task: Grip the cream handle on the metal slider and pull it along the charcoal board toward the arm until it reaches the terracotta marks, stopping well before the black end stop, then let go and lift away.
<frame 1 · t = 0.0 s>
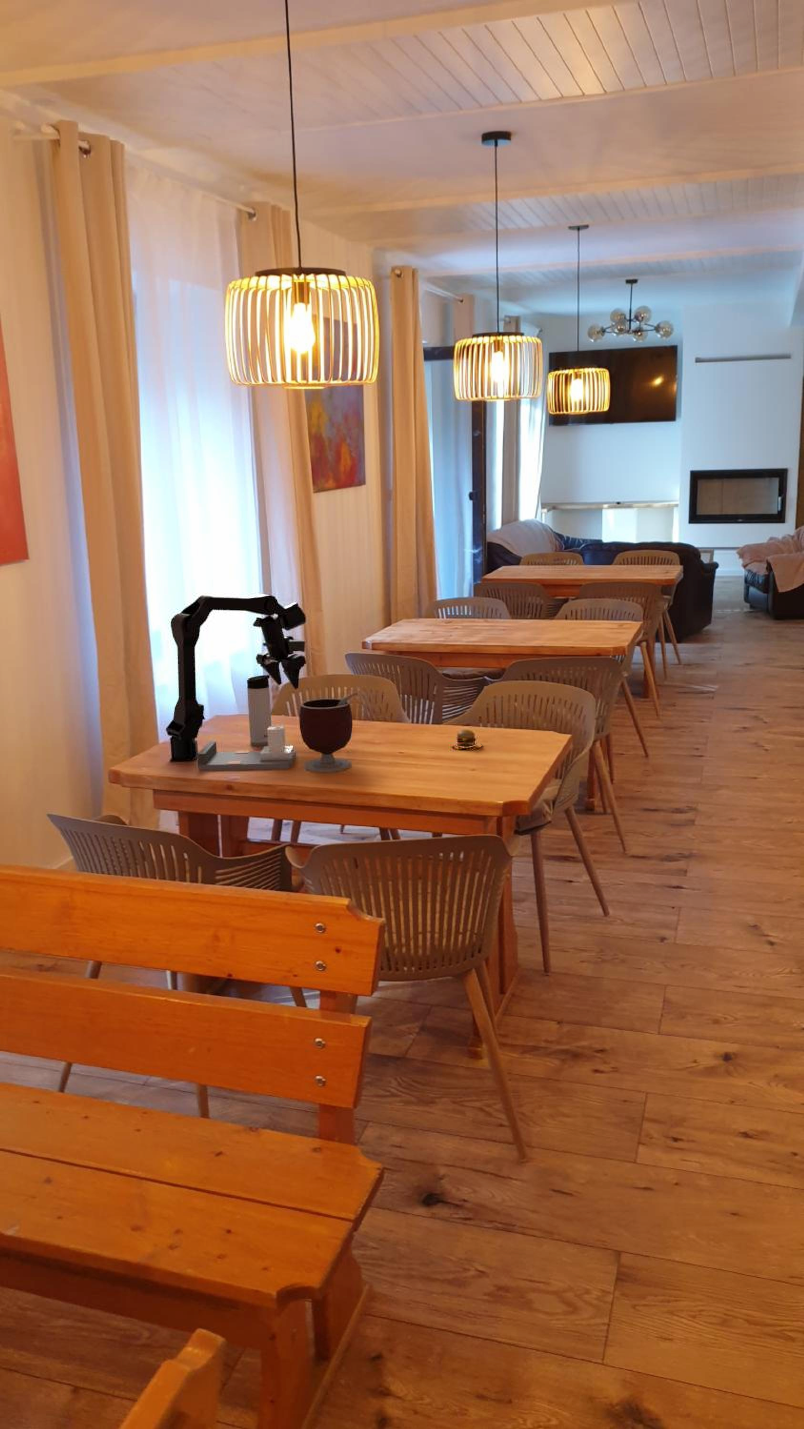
hand: (288, 686, 331), 15 cm above the table, tool pointing down, fingers open, 9 cm apart
hamburger: (466, 749, 318), on the table
slide board: (248, 763, 307), on the table
mate gourd: (331, 767, 301), on the table
slider: (276, 742, 306), point 6 cm above the table, slide at 0.0 cm
travel mug: (262, 744, 329), on the table
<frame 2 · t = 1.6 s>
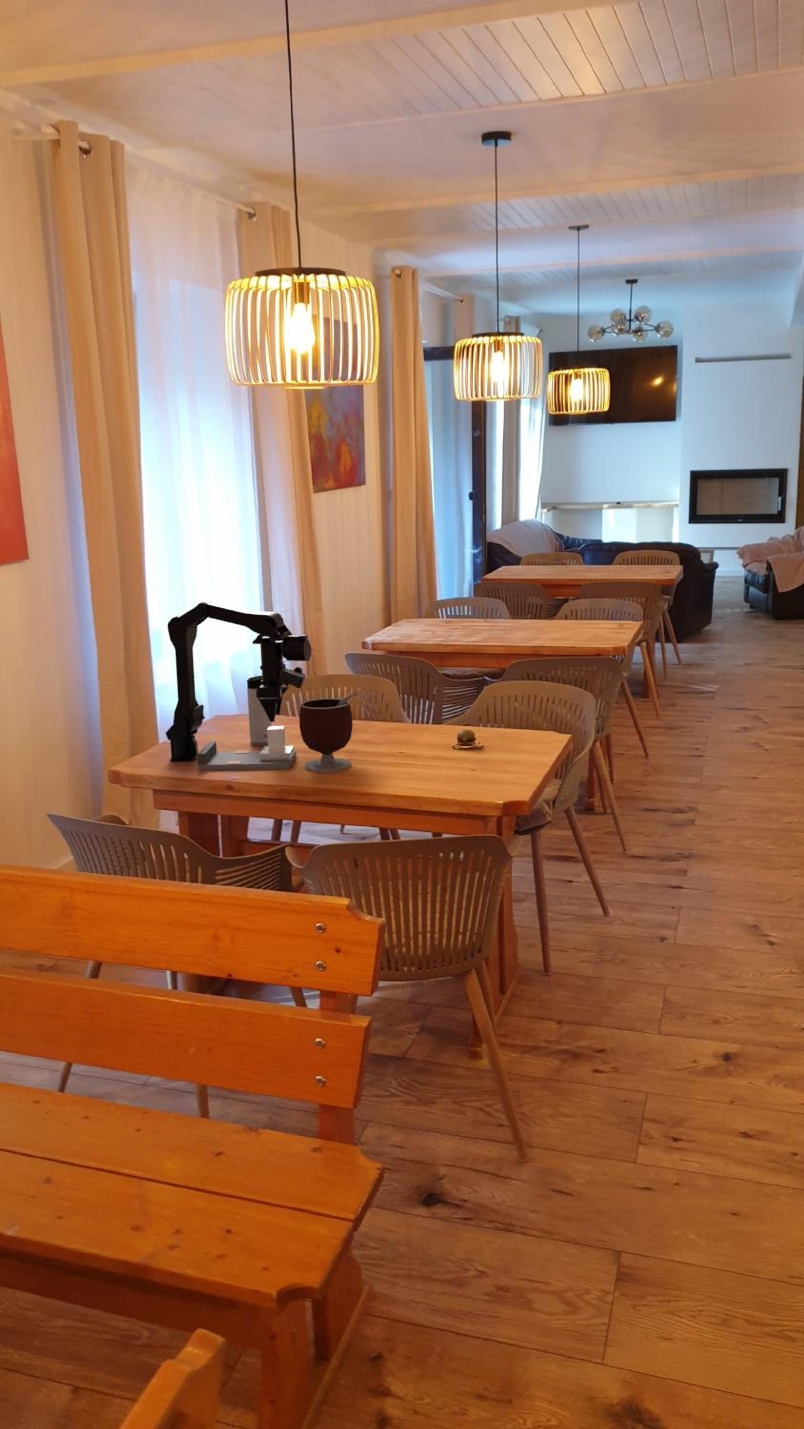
hand: (275, 718, 304), 12 cm above the table, tool pointing down, fingers open, 9 cm apart
nothing on the table moved.
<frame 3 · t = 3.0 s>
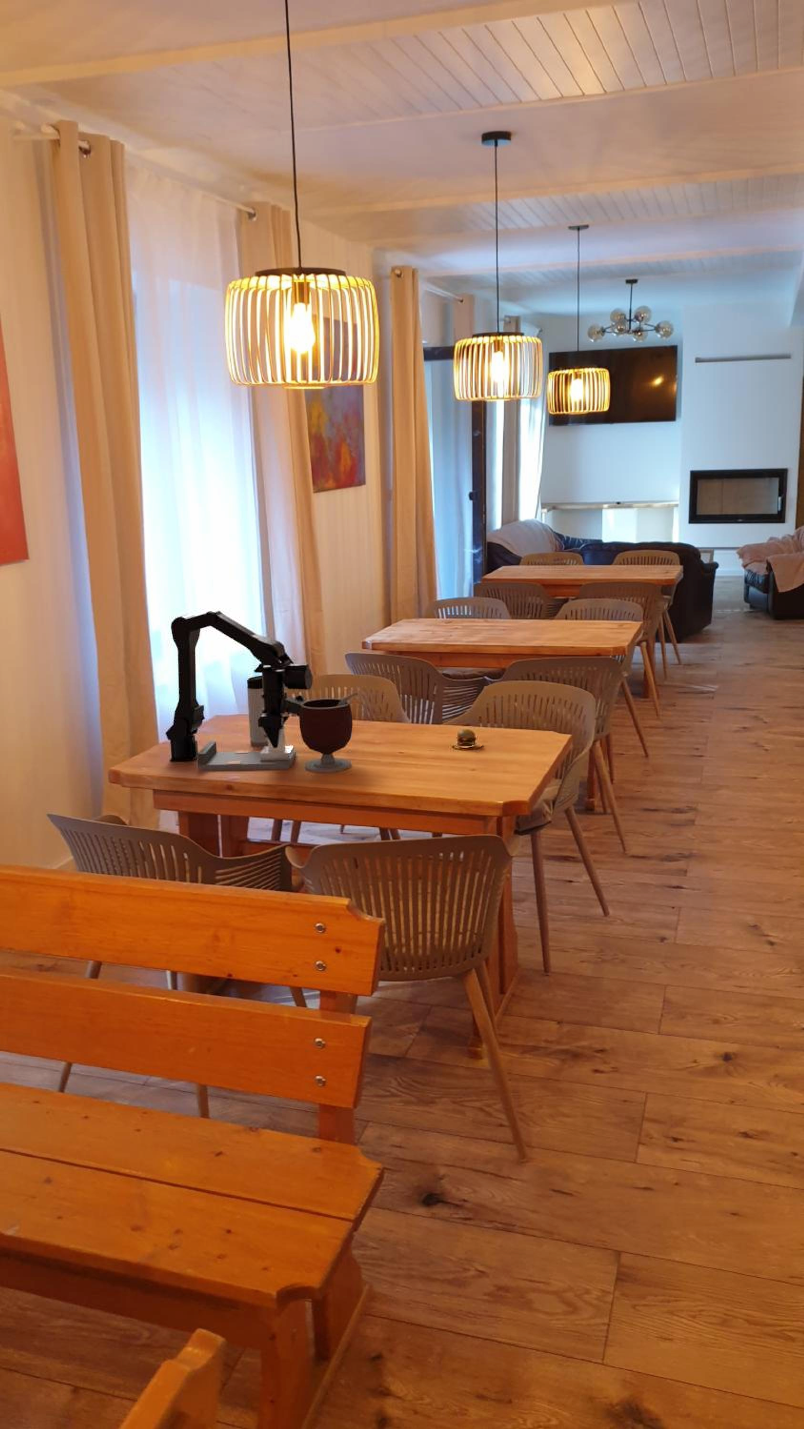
hand: (276, 745, 306), 5 cm above the table, tool pointing down, fingers closed on slider, 4 cm apart
slider: (276, 742, 306), point 6 cm above the table, slide at 0.0 cm, touching gripper
everything else where it was.
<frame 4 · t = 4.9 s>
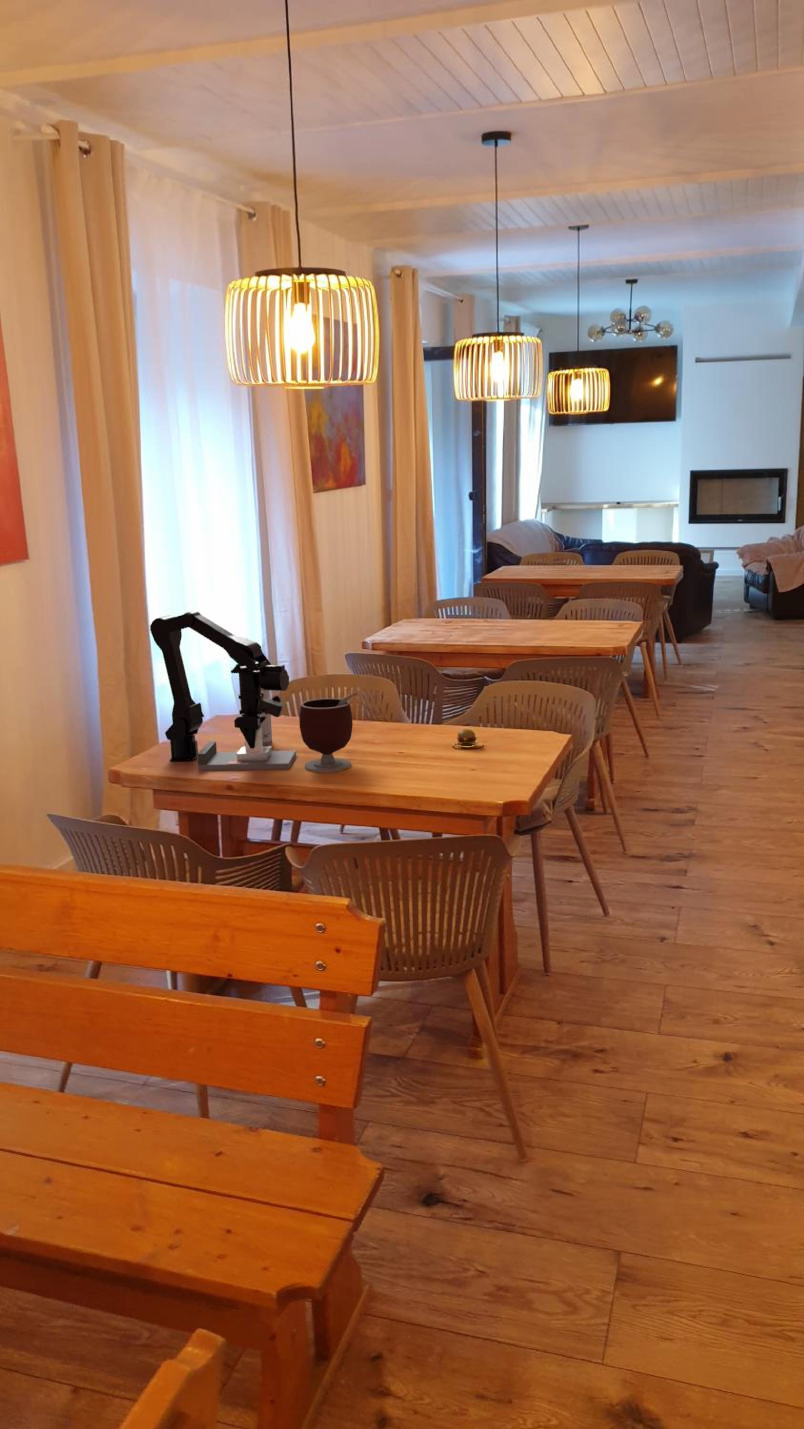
hand: (253, 746, 306), 5 cm above the table, tool pointing down, fingers closed on slider, 4 cm apart
slider: (253, 742, 306), point 6 cm above the table, slide at 6.2 cm, touching gripper
everything else where it was.
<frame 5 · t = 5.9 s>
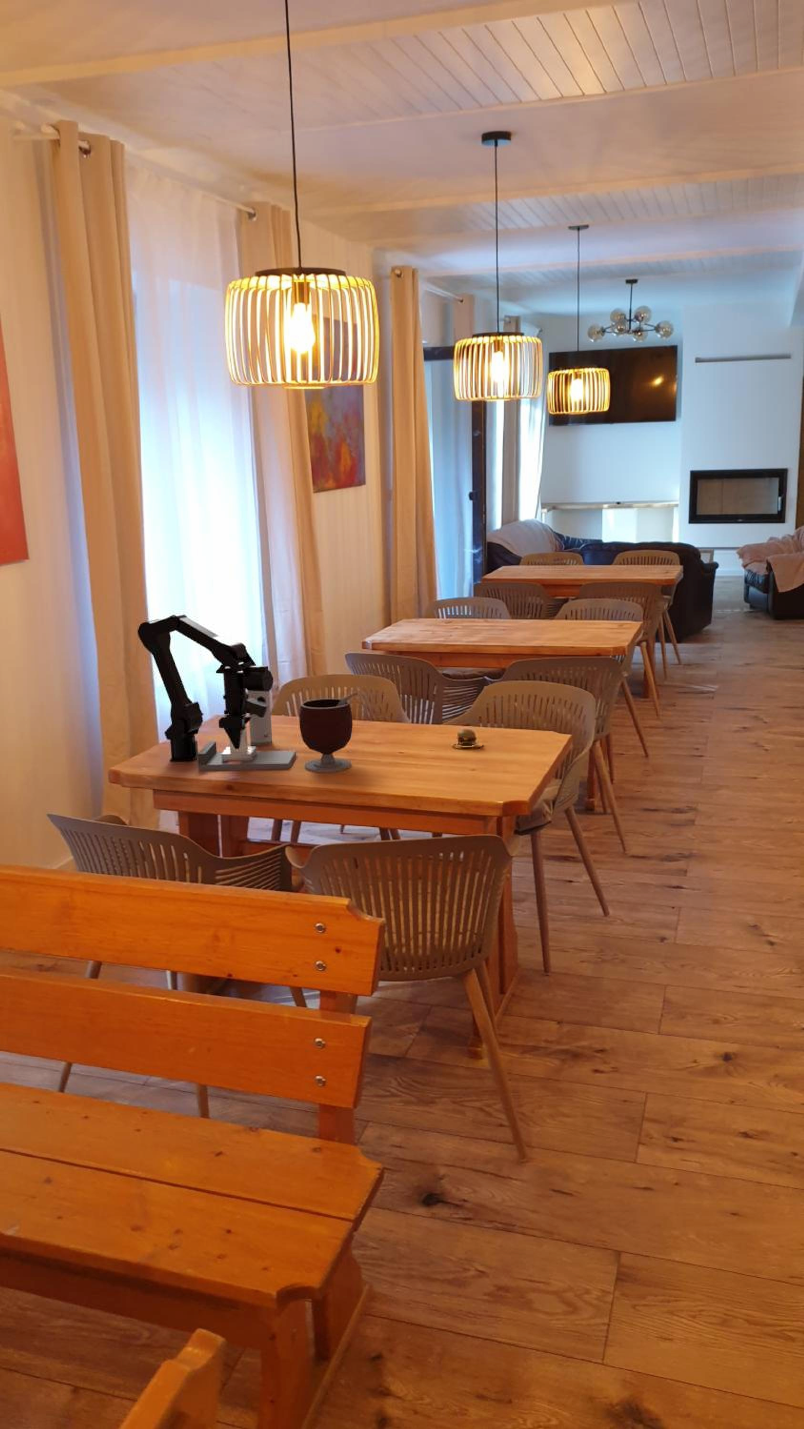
hand: (238, 746, 306), 5 cm above the table, tool pointing down, fingers closed on slider, 4 cm apart
slider: (238, 743, 306), point 6 cm above the table, slide at 10.3 cm, touching gripper
everything else where it was.
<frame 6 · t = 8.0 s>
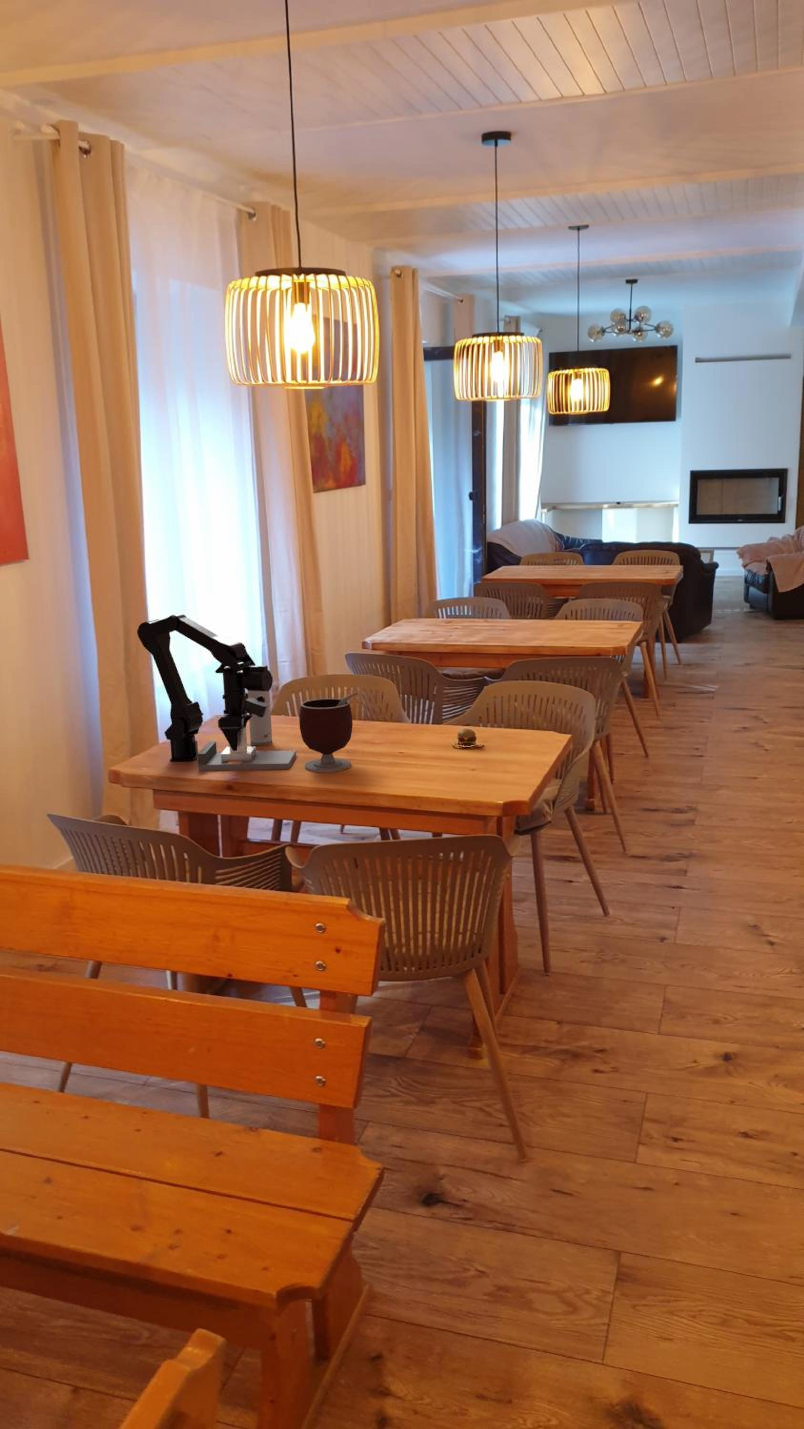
hand: (238, 746, 306), 5 cm above the table, tool pointing down, fingers open, 9 cm apart
slider: (238, 743, 306), point 6 cm above the table, slide at 10.4 cm
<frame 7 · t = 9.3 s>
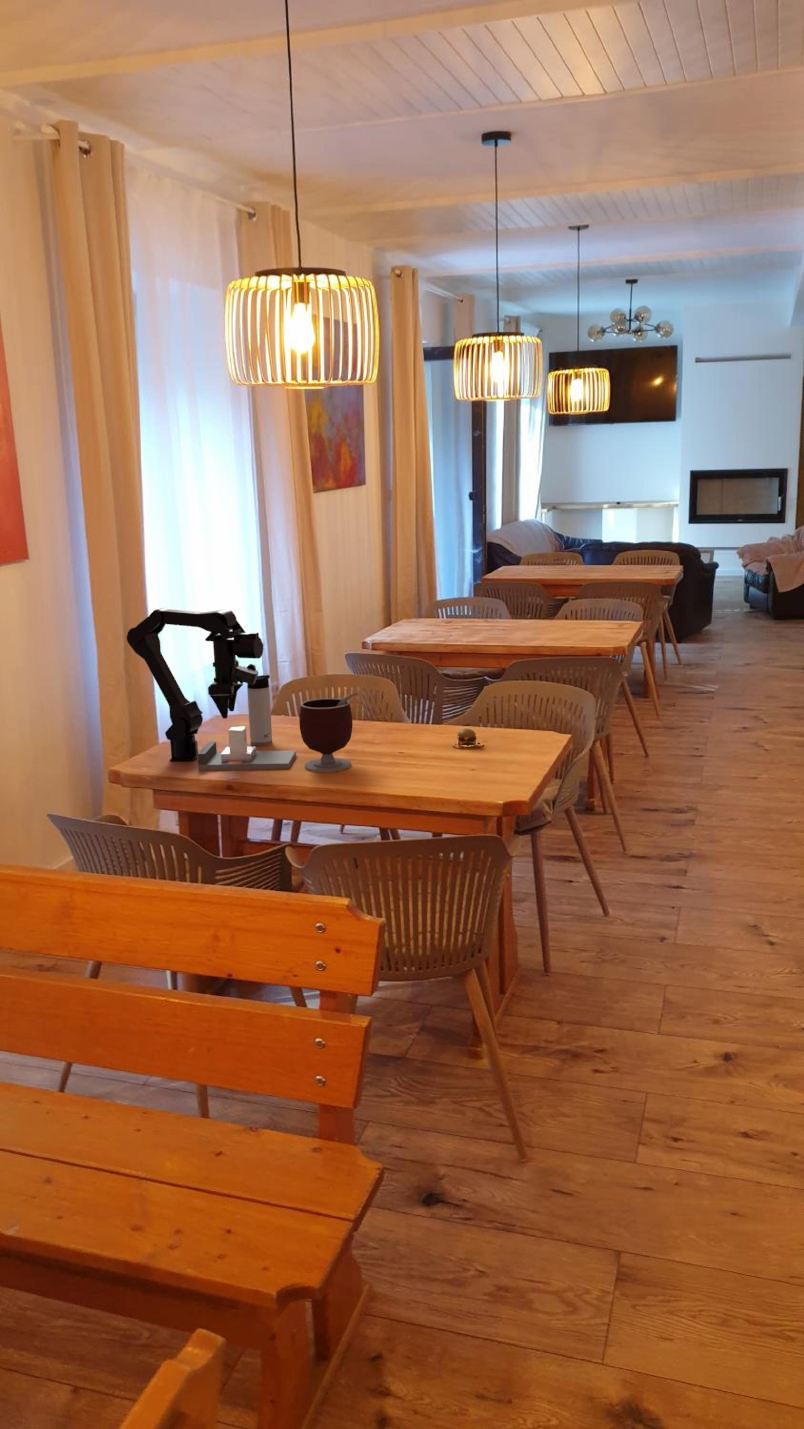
hand: (228, 714, 307), 13 cm above the table, tool pointing down, fingers open, 9 cm apart
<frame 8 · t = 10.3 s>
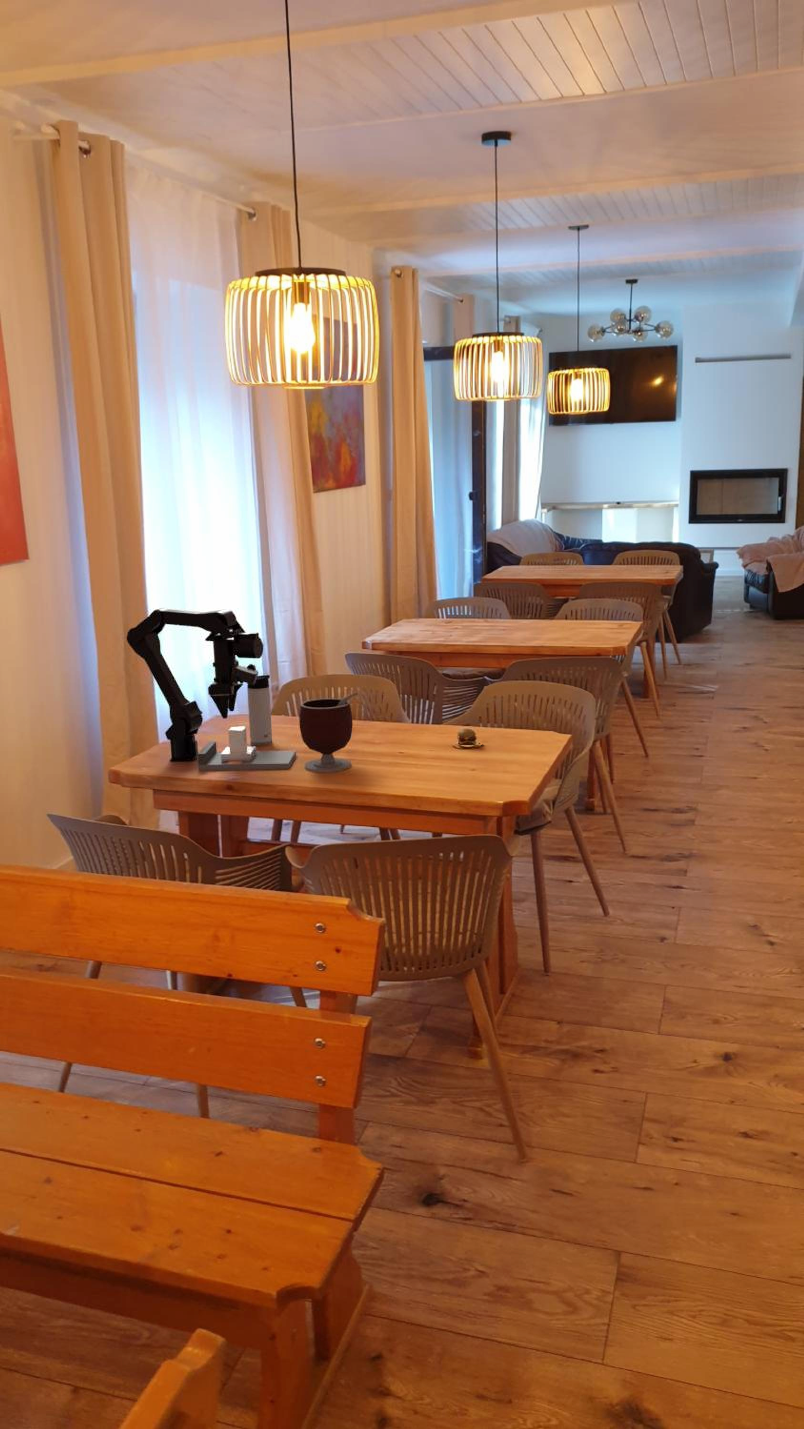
hand: (228, 714, 307), 13 cm above the table, tool pointing down, fingers open, 9 cm apart
at the end: slider slide at 10.4 cm; the gripper is holding nothing; mate gourd moved 0.2 cm from its start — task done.
